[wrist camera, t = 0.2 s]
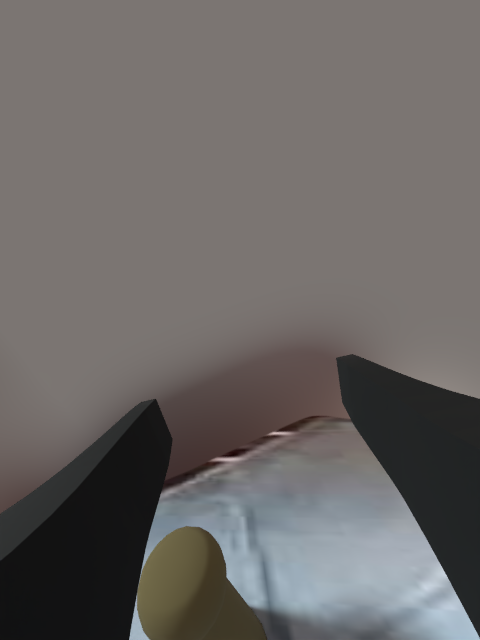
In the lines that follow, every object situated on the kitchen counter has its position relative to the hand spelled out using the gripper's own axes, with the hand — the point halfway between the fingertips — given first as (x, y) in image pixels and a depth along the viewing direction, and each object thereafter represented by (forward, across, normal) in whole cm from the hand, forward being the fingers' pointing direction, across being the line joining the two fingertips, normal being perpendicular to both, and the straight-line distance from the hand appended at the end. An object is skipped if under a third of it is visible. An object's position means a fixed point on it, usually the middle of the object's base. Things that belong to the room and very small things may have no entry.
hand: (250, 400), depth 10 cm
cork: (+1, +6, +22) cm, 23 cm away
